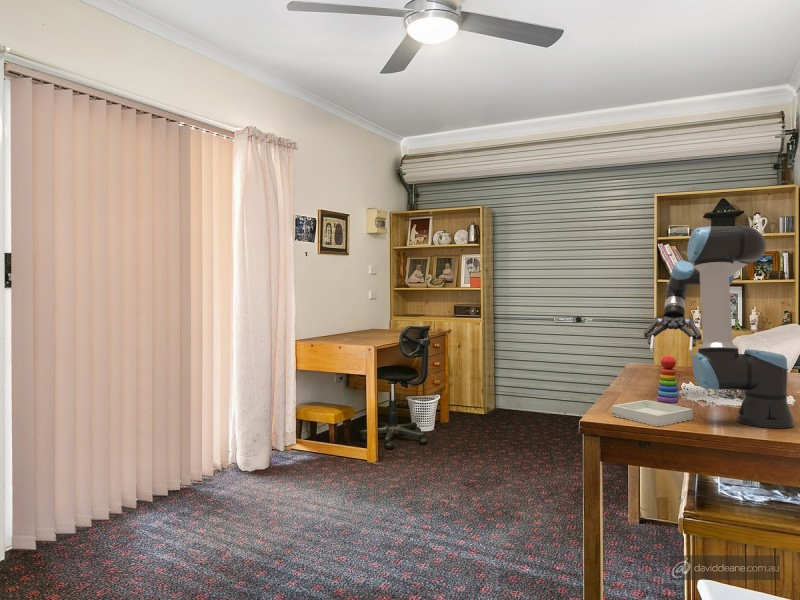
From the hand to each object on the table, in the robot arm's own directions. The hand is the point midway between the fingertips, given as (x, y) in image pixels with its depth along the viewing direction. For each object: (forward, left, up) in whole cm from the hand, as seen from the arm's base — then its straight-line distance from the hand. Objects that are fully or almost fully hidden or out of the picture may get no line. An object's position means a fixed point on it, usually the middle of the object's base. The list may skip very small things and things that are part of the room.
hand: (670, 351), depth 222 cm
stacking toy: (-5, +9, -19) cm, 22 cm away
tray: (-13, +29, -19) cm, 37 cm away
